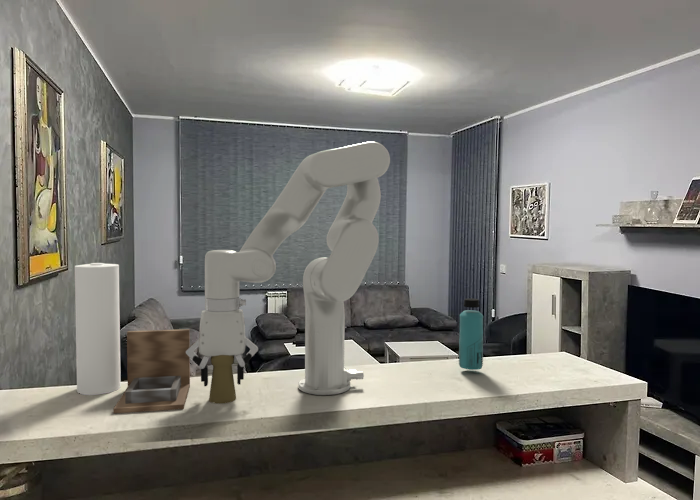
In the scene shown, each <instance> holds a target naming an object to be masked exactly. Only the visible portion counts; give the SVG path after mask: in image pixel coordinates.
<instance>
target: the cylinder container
mask: <svg viewBox="0 0 700 500" xmlns="http://www.w3.org/2000/svg"><path fill="white" fill-rule="evenodd" d="M74 295H75V296H74V299H75V301H74V302H75V303H74V304H75V305H74V307H75V349H76V350H75V353H76V354H75V357H76V359H75V360H76V362H75V363H76V393H78V394H79V393H80V394H79V395H83V396H84V395H85V396H95V395H105V394H108V393H109V394H110V393H113V392H115V391H117V390H120V388H121V382H122V380H121V330H120V329H121V327H120V326H121V325H120V324H121V323H120V321H121V320H120V319H121V317H120V314H121V313H120V264H117V263H104V262H90V263H86V264H79V265H78V264H77V265H74Z"/></svg>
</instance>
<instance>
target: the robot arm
mask: <svg viewBox="0 0 700 500" xmlns="http://www.w3.org/2000/svg"><path fill="white" fill-rule="evenodd" d="M390 164H391V156H390V153H389V151H388V149H387V148H386V147H385V146H384V145H383V144H382V143H380V142H376V141H366V142H365V141H364V142H362V143H356V144H352V145H347V146H343V147H338V148H331V149H326V150H321V151H318V152H315V153H312V154H310V155H307V156H306V157H305V158H304V159H302V161H301V162H300V164H298V166H297V168H296V169H295V171H294V172H293V174H292V175H291V177H290V178H289V180H288V181H287V184H285V186H284V188H283V189H282V190H281V192H280V194H279V195H278V197H277V198H276V200H275V201H274V203H273V204H272V206H270V207H269V209H268V210H267V212H266V213H265V215H264V216H263V217H262V219H261V220H260V221H259V222H258V224H257V225H256V226H255V227H254V229H252V231H251V233H250V234H249V236H248V237H247V239H246V240H245V242H244V244H243V245H242V247H241V248H240V250H239V251H235V250H232V249H214V250H213V249H212V250H208V251H207V252H206V253H205V256H204V310H201V314H200V321H199V334H198V339H196V340H195V342H193V343H192V344H190V347H189V348H188V349H187V350H186V354H187V355H188V356H189V357H190V360H192V362H193V363H195V364H196V365H197V366H198V367H199V369H200V382H202V383H203V386H204V387H207V386H208V385H209V365H208V361H209V359H210V358H211V357H214V356H218V355H229V356H234V358H236V361H237V365H236V366H237V367H236V374H237V376H236V383H237V384H238V385H241V380H245V379H244V378H245V377H244V376H245V374H244V372H245V371H244V370H245V368H244V367H245V366H246V364H247V363H248V362H249V361H250V360H251V359H252V357H254V356H255V354H257V352H258V351H259V347H258V346H257V345H256V344H255V343H254V342H253V341H251V340H250V339H249V338H248V337H247V336H246V323H245V315H244V311H243V309H240V308H241V307H243V306H246V305H247V300H246V299H243V298H241V297H240V282H245V283H254V284H255V283H256V284H261V283H265V282H267V281H269V280H270V279H271V278H273V276H274V275H275V273H276V271H277V264H276V259H275V258H274V256H273V255H275V253H276V251H277V250H278V248H279V247H280V246H281V244H282V243H284V241H286V239H287V238H288V237H290V236H291V235H292V234H294V233H295V232H298V230H299V229H301V227H303V226H304V225H305V224H306V222H307V221H308V220H309V218H310V216H311V214H312V212H313V211H315V208H316V207H317V205H318V203H319V202H320V200H321V199H322V197H323V196H324V194H325V192H326V191H327V190H328V189H332V188H337V187H344V186H347V189H346V196H345V198H344V200H343V202H342V205H341V206H340V208H339V210H338V213H336V216H335V219H334V221H333V222H332V224H331V226H330V227H329V229H328V232H327V235H326V246H327V247H328V249H329V251H330V252H331V253H330V255H329V256H328V257H318V258H315V259H313V260H311V261H310V262H309V263H308V264H307V266H306V267H305V269H304V272H303V277H302V287H303V288H302V289H303V296H304V311H305V312H304V315H305V317H304V320H305V321H304V323H305V324H304V327H305V328H304V329H305V330H304V334H305V335H304V336H305V337H304V344H305V345H304V353H305V354H304V378H302V379H300V380H299V382H298V389H299V390H300V391H301V392H303V393H306V394H310V395H316V396H317V395H318V396H330V395H331V396H332V395H338V394H342V393H345V392H347V391H349V390H350V389H351V381H352V380H363V379H364V377H365V375H364V372H363V371H362V370H361V371H360V370H359V371H357V370H356V369H349V370H348V369H346V367H345V330H346V329H345V325H346V324H345V321H346V317H345V316H346V315H345V313H346V312H345V303H344V302H346V301H348V300H349V299H351V298H352V297H353V296H354V295H355V293H356V292H357V291H358V288H360V286H361V284H362V282H363V280H364V278H365V276H366V274H367V271H368V269H370V268H369V267H371V264H372V261H373V259H374V257H375V255H376V253H377V250H378V247H379V232H378V229H377V228H376V226H375V225H374V223H373V221H374V219H375V217H376V215H377V213H378V210H379V207H380V205H381V204H380V203H381V197H382V193H381V187H380V183H379V179H378V178H380V177H382V176H383V175H385V173H386V172H387V171H388V170H389V167H390ZM246 347H248V348H249V351H248V352H247V353H246V354H245V351H246ZM197 349H198V353H199V355H198V354H196V352H195V351H196V350H197ZM243 354H245V355H243ZM200 356H202V357H200Z"/></svg>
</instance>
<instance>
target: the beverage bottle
mask: <svg viewBox="0 0 700 500" xmlns="http://www.w3.org/2000/svg"><path fill="white" fill-rule="evenodd" d="M463 307H465V308H472V309H473V308H474V309H476V308H479V307H480V300H479V299H478V298H464V300H463ZM472 309H471V310H469V309H467V310H466V309H465V310H463V311H462V312H460V314H459V337H458V338H459V340H458V347H459V348H458V365H459V367H460V368H461V369H463V370H464V369H465V370H470V371H477V370H481V369H482V368H483V365H484V348H483V347H484V315H483V314H482V313H481V312H480V311H479V310H472Z"/></svg>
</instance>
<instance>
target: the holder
mask: <svg viewBox="0 0 700 500" xmlns="http://www.w3.org/2000/svg"><path fill="white" fill-rule="evenodd" d="M190 330H191V329H190V328H187V329H186V328H185V329H184V328H183V329H182V328H181V329H158V330H157V329H154V330H128V331H127V332H126V353H127V354H126V357H127V360H126V362H127V373H126V374H127V387H126V389H125V390H124V392H123V393H122V394H121V397H119V399H118V401H117V402H116V404H115V406H114V407H113V410H112V411H113V412H112V413H113V414H126V413H127V414H128V413H141V412H142V413H143V412H158V411H171V410H172V411H176V410H184V408H185V406H186V402H187V399H188V394H189V391H190V388H191V364H190V363H191V358H190V357H189V356H188V355H187V354H186V350H187V349H188V348H189V347H190V346H191V344H190V342H191V339H190V335H191V334H190V333H191V331H190Z"/></svg>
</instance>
